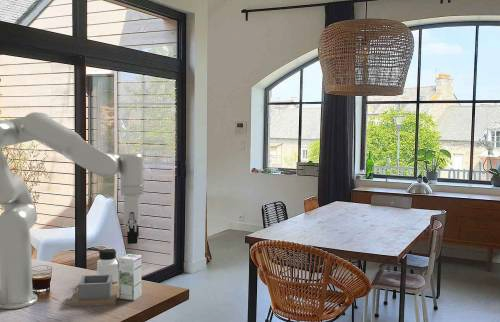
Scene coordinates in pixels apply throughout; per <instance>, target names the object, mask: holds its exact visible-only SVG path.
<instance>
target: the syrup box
mask: <svg viewBox="0 0 500 322" xmlns="http://www.w3.org/2000/svg"><path fill="white" fill-rule="evenodd" d="M118 286H119V291H118V295H119V296H118V298H119V300H126V301H133V302H134V301H136V300H137V299H139V298H140V297H142V295H143V294H142V291H143V290H142V255H141V254H131V253H126V254H123V255H121V256H119V258H118Z"/></svg>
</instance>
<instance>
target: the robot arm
mask: <svg viewBox="0 0 500 322" xmlns="http://www.w3.org/2000/svg"><path fill="white" fill-rule="evenodd" d="M33 141H36V142H38V143H40V144H42V145H43V146H46V147H47V148H49V149H51V150H53V151H55V152H56V153H58V154H60V155H62V156H63V157H64V158H66V159H68V160H70V161H71V162H73V163H75V164H76V165H78V166H80V167H81V168H83V169H85V170H87V171H89V172H90V173H93V174H94V175H97V176H98V177H101V178H111V177H112V176H113V177H114V175H120V178H119V179H120V195H121V196H122V197H123V225H124V226H126V225H127V232H126V233H127V235H126V238H127V241H126V242H127V244H128V245H133V244H138V238H139V236H140V233H139V232H140V231H139V228H140V227H139V223H140V217H141V196H143V195H144V192H145V191H144V185H145V184H144V157H143V155H142V154H141V153H135V152H134V153H124V154H123V153H114V152H113V153H112V152H104V151H103V150H101V149H99V148H97V147H95V146H93V145H91V143H88V141H86V140H84V138H82V136H81V135H80V134H79V133H77V132H76V131H74V130H73V129H70V128H68V127H67V126H64V125H63V124H61V123H60V122H57V121H56V120H53V118H52V117H51V116H50V115H48V114H47V113H44V112H39V111H38V112H37V111H35V112H34V111H33V112H30V113H28V114H26V115H25V116H20V117H16V118H12V119H3V120H1V119H0V206H2V207H3V209H4V211H2V212H1V214H0V309H3V310H14V309H21V308H26V307H29V306H31V305H34V304H35V303H37V301H38V296H37V294H35V293H33V270H32V267H33V263H32V261H33V260H32V258H33V256H32V241H31V232H30V230H31V229H32V228H33V227H34V225H36V223H37V220H38V212H37V208H36V205H35V204H34V200H33V198H32V195H31V192H30V191H29V188H28V185H27V183H26V182H25V180H24V178H22V177H21V176H20V175H18V174H16V173H12V171H11V168H10V166H9V163H8V160H7V159H6V157H5V155H4V153H3V151H2V150H3V149H2V148H3V147H8V146H13V145H18V144H22V143H26V142H33Z"/></svg>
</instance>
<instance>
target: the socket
mask: <svg viewBox="0 0 500 322" xmlns="http://www.w3.org/2000/svg"><path fill="white" fill-rule="evenodd" d="M118 295H119V285H118V286H115V285H114V286H113V283H112V274H109V275H97V274H86V275H82V276H81V278H80V279H79V282H78V284H77V289H76V291H75V292H74V294H73V296H72V299H70V307H86V306H87V307H88V306H91V307H92V306H111V305H113V304H114V305H116V304H117V303H116V302H117V299H118Z"/></svg>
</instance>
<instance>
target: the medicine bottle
mask: <svg viewBox="0 0 500 322" xmlns="http://www.w3.org/2000/svg"><path fill="white" fill-rule="evenodd" d="M98 257H99V259H98V260H97V261H96V265H97V266H96V273H97V274H96V275H109V274H112V284H114V283H119V261H118V260H117V250H116V248H115V249H114V248H111V247H110V248H109V247H106V248H102V249H100V250H99V256H98Z"/></svg>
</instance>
